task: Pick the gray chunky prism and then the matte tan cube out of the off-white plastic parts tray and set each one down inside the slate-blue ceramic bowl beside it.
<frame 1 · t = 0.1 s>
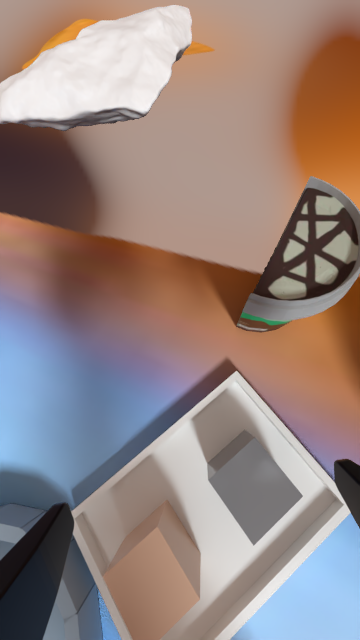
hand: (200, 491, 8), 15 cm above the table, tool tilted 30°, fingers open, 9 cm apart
food container: (279, 303, 25), on the table
matte tan cube: (162, 545, 19), resting on parts tray
parts tray: (204, 503, 20), on the table
gray chunky prism: (243, 469, 20), resting on parts tray
white lumpy chunk: (113, 111, 39), on the table
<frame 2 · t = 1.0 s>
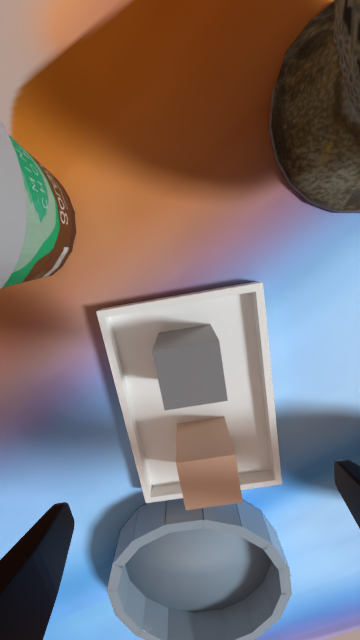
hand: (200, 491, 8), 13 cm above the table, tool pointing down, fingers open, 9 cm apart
food container: (46, 202, 18), on the table
matte tan cube: (204, 440, 22), resting on parts tray
grey stone urn: (356, 110, 17), on the table
parts tray: (196, 396, 21), on the table
bowl: (197, 555, 26), on the table
gray chunky prism: (188, 352, 20), resting on parts tray
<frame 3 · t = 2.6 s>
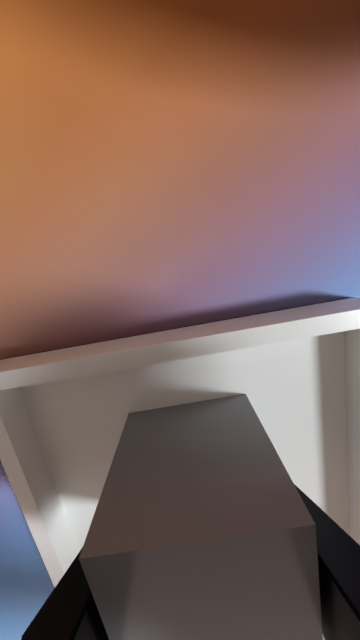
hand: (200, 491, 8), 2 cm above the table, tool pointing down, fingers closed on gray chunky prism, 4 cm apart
parts tray: (211, 527, 11), on the table
gray chunky prism: (196, 452, 9), resting on parts tray, touching gripper
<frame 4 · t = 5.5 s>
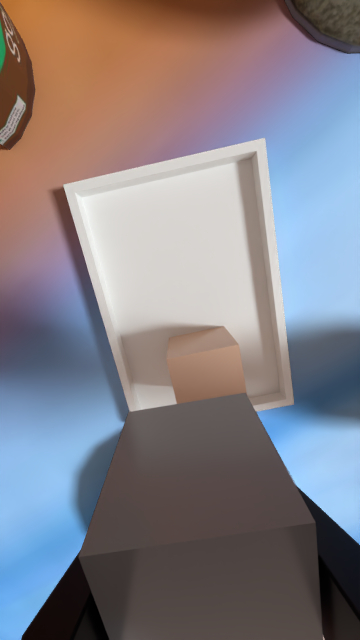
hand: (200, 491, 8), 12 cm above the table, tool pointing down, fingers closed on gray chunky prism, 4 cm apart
matte tan cube: (201, 357, 19), resting on parts tray
parts tray: (190, 303, 18), on the table
gray chunky prism: (196, 451, 9), point 10 cm above the table, touching gripper
when the fingers open (4 cm above the table, at t = 8.2 s): gray chunky prism drops 1 cm, resting on bowl.
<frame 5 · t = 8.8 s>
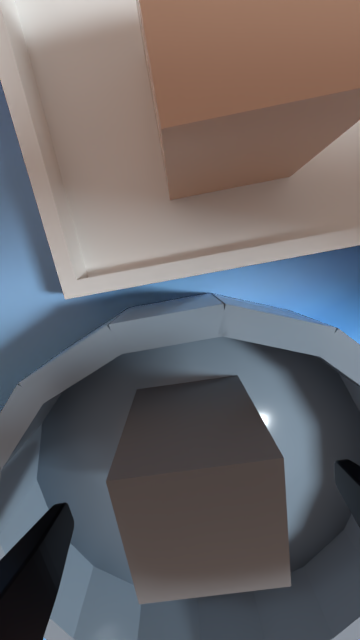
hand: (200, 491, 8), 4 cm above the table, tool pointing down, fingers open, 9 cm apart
matte tan cube: (221, 118, 8), resting on parts tray
bowl: (202, 471, 12), on the table
gray chunky prism: (193, 426, 11), resting on bowl
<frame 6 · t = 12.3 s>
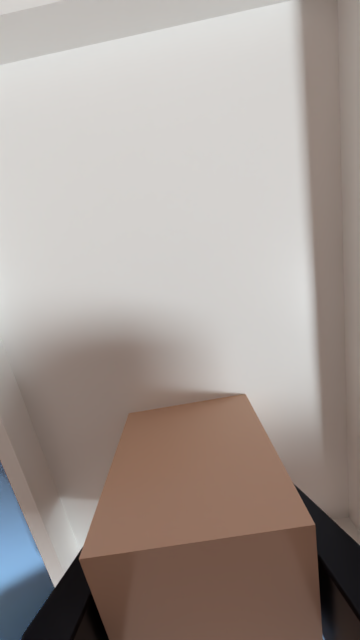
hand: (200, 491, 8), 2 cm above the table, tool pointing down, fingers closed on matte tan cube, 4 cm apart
matte tan cube: (196, 452, 9), resting on parts tray, touching gripper
parts tray: (175, 344, 9), on the table
when the fingers open (4 cm above the table, at t = 17.4 s): matte tan cube drops 1 cm, resting on bowl.
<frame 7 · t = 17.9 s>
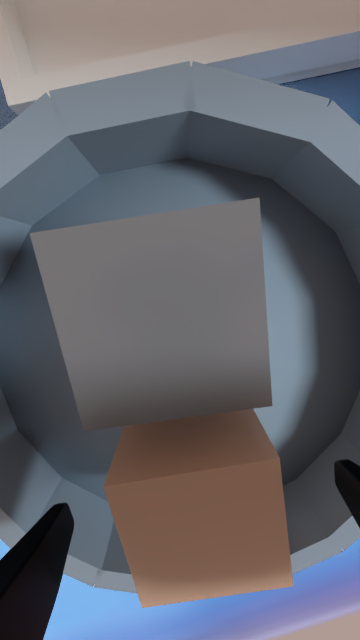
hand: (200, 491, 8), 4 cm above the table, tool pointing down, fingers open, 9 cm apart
matte tan cube: (193, 427, 11), resting on bowl
bowl: (181, 364, 10), on the table
gray chunky prism: (169, 299, 9), resting on bowl
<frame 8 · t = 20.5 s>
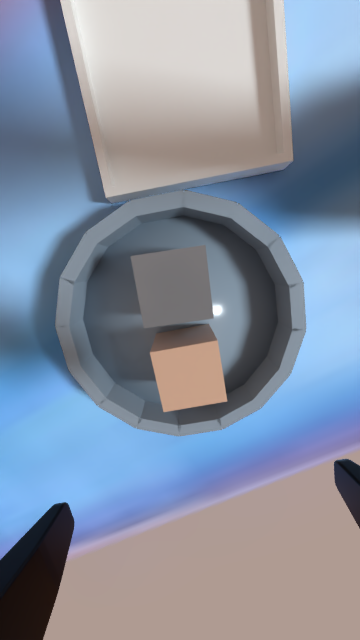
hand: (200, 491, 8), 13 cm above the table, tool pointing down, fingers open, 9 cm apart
matte tan cube: (187, 353, 20), resting on bowl
parts tray: (173, 30, 15), on the table
bowl: (180, 319, 20), on the table
gray chunky prism: (174, 283, 18), resting on bowl
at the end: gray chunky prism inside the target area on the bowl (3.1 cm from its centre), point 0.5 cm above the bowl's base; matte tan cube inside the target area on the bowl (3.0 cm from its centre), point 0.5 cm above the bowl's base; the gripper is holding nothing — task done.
